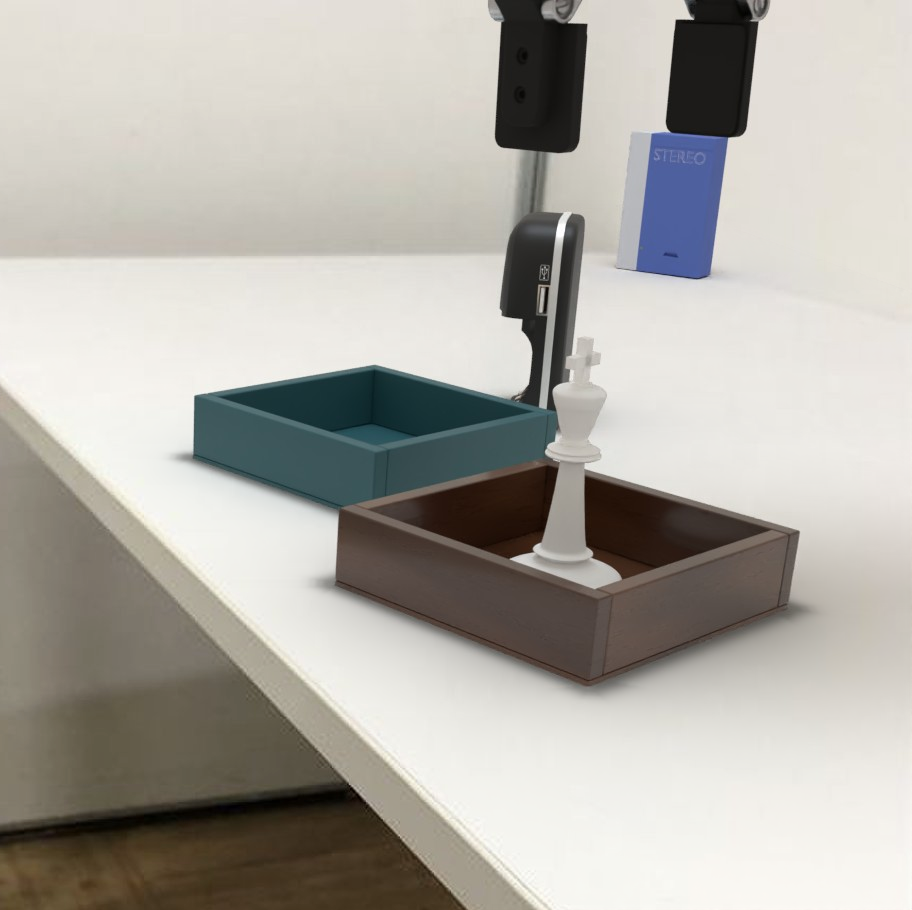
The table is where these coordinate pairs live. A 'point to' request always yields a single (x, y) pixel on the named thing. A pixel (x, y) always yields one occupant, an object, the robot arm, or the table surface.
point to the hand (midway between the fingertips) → (624, 141)
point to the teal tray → (364, 433)
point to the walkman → (671, 203)
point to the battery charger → (544, 296)
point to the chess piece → (573, 478)
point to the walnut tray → (557, 599)
